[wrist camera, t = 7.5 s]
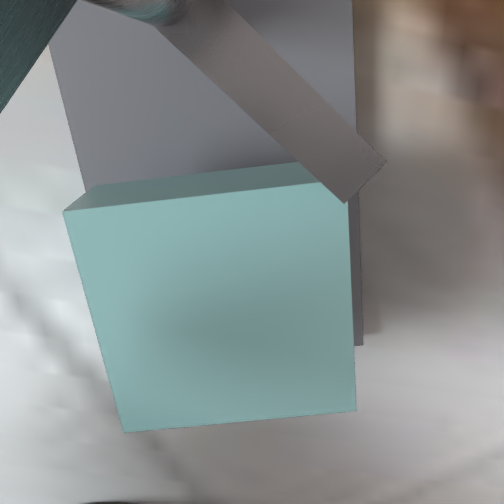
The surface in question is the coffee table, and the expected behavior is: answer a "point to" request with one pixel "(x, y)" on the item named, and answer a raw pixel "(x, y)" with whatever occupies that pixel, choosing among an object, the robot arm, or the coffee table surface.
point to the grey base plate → (194, 97)
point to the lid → (219, 295)
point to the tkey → (214, 77)
